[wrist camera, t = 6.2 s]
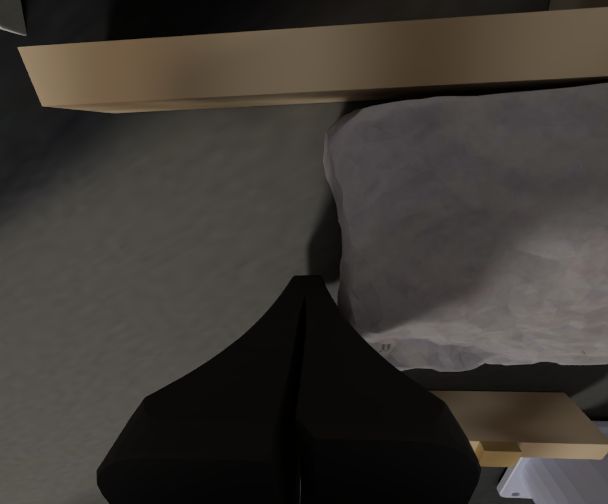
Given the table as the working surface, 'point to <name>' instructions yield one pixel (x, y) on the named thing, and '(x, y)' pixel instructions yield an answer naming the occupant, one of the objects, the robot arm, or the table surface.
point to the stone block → (475, 227)
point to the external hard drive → (12, 17)
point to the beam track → (357, 87)
